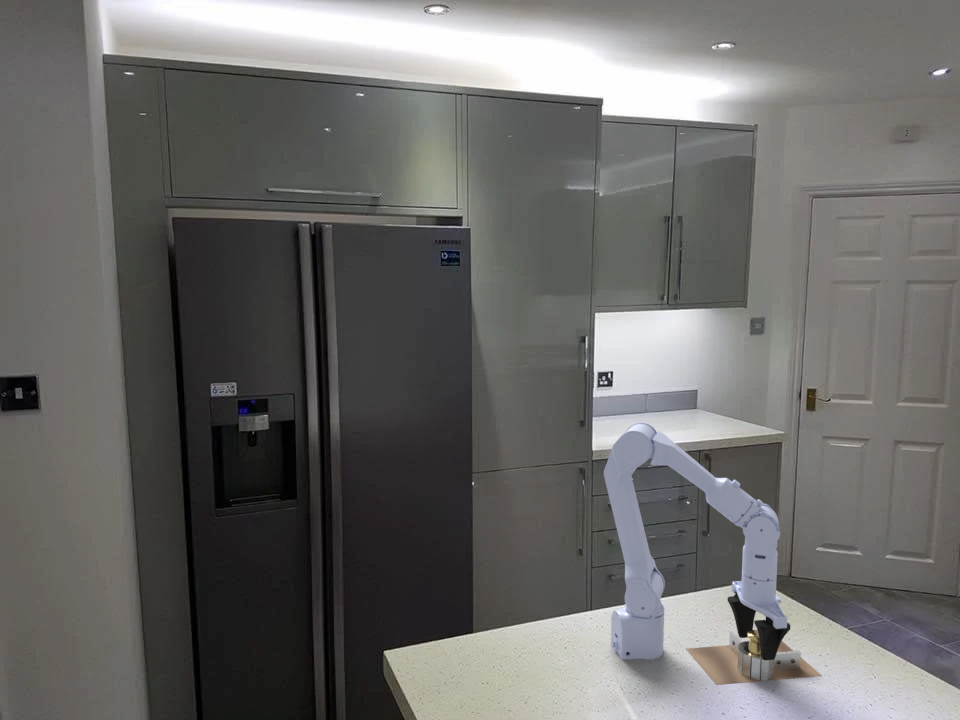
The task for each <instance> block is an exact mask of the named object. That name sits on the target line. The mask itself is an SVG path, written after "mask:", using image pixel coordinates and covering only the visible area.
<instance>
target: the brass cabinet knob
mask: <svg viewBox="0 0 960 720" xmlns="http://www.w3.org/2000/svg"><path fill="white" fill-rule="evenodd" d="M747 637H748V641H749V651H748V653H750V654H752V655H757V656H761V651H760V638H759V634H758V630H757V629H753V630H749V631H748V632H747Z"/></svg>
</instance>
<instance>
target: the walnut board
mask: <svg viewBox="0 0 960 720" xmlns="http://www.w3.org/2000/svg"><path fill="white" fill-rule="evenodd" d="M685 650H686V651H687V652H688V654H689V655H690V657H692V658H693V659H694V661H695V662H696V663H697V665H699V666H700V667H701V669H702V670H703V671H704V673H706V675H708V677H709V678H710V680H712V682H713V683H714V684H715V685H716V686H719V685H729V684H731V685H732V684H742V683H752V682H753V683H755V682H762V681H761V680H760V681H759V680H754V679H751V678H748V677H746V676H743V674H741V673H740V672H739V671H738V670H737V663H738V655H737V654H736V653H735V652H734V651H733V650H732V649H731V648H730V647H729V644H728V645H716V646H701V647H690V648H685ZM789 651H794V650H793V649H792V648H791V647H790V646H789V645H787V643H785V642H784V641H783V640H782V641H781V643H780V645H779V648H778V651H777V652H789ZM821 676H822V674H821V673H820V672H818V670H816V669H815V668H814V667H813V666H811V664H810V663H808V662H807V661H806V660H805V659H803V657H801V662H800V668H796V669H785V670H774V677H773V678H771V679H770V680H769V681H775V680H778V681H779V680H786V679H787V680H789V679H799V678H801V679H802V678H811V677H821ZM766 681H767V682H768V680H764V681H763V682H766Z"/></svg>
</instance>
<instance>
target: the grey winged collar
mask: <svg viewBox="0 0 960 720" xmlns="http://www.w3.org/2000/svg"><path fill="white" fill-rule="evenodd" d="M728 641H729V642H728V645H729V647H730V648H731V649H732V650H733V651H734V652H735V653H736V654H737V655H738V663H737V670H738V671H739V672H740V673H741V674H743V676H746V677H748V678H751V679H754V680H759V681H758V682H765V681H764V680H767V681H771V680H770V679H771V678H773V677H774V670H785V669H796V668H800V662H801V658H802V657H801V656H802V652H801V651H800V650H793V651H789V652H777V654H776V657H775V659H774V660H763V659H762V657H761V656H757V655H752V654H750V653H748V651H749V640H746V641H745V640H742V638H740V637H739V635H737V634H736V633H735V632H734V631H733V630H731V631H729V640H728ZM760 680H761V681H760Z"/></svg>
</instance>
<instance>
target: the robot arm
mask: <svg viewBox="0 0 960 720" xmlns="http://www.w3.org/2000/svg"><path fill="white" fill-rule="evenodd" d="M611 447H612V448H611V450H610V454H609V456H608V459H607V463H606V464H605V467H604V469H603V477H604V481H605V486H606V489H607V490H606V491H607V494H608V498H609V503H610V506H611V510H612V515H613V519H614V522H615V527H616V530H617V531H616V532H617V536H618V539H619V543H620V544H619V545H620V547H621V552H622V556H623V561H624V582H625V589H626V590H625V592H624V593H625V594H624V603H625V606H622V607H621V608H619V609H615V610H613V611H612V613H611V629H610V633H611V634H610V636H611V637H610V638H611V639H610V644H611V647H612V648H613V649H614V650H615V652H616V654H617V655H618V656H619V658H620V660H623V661H626V660H637V659H638V660H656V659H659V658H660V657H661V656H662V655H664V641H665V639H664V637H665V635H664V634H665V632H664V631H665V607H664V605H663V603H662V600H661V599H662V595H663V594H664V590H665V588H666V581H665V578H664V576H663V574H662V573H661V572H660V571H659V569H658V567H657V565H656V560H655V559H654V557H653V556H652V555H651V551H650V548H649V543H648V539H647V536H646V532H645V527H644V523H643V519H642V515H641V510H640V507H639V502H638V498H637V493H636V490H635V489H636V488H635V485H634V481H633V478H632V476H633V474H634V473H635V471H636V470H637V468H638V467H640V466H642V465H643V464H645V463H646V462H647V461H648V460H649V459H651V462H650V466H666V467H667V466H668V467H669V468H670V469H672V470H674V471H675V472H677V474H678V475H681V477H683V478H685V479H686V480H687V481H689V482H690V483H691V484H693V485H694V486H696V487H697V488H698V489H700V490H701V491H703V492H704V494H705V500H706V503H707V504H708V505H710V506H711V507H712V508H713V509H715V510H716V511H717V512H718V513H720V514H721V515H723V517H725V518H726V519H727V520H728V521H730V522H731V523H732V524H733V525H735V526H737V527H739V528H741V529H742V534H743V535H744V545H743V546H742V560H741V561H742V563H741V580H740V581H739V580H737V581H731V592H732V593H733V594H734V595H731V596H727V603H728V604H729V606H730V608H731V611H732V613H733V616H734V620H735V625H736V630H737V634H738V635H737V636H738V637H739V638H740V639H745V638H748V637H747V632H748V631H749V630H754V629H753V628H754V625H755V627H756V630H758V634H759V638H760V651H761V657H762V659H763V660H774V659H775V657H776V654H777V651H778V648H779V645H780V643H781V641H783V639H784V638H785V636H786V635H787V634H788V633H789V631H790V630H791V624H790V623H789V622H788V616H787V615H785V613H784V612H783V610H782V608H781V607H780V604H781V603H782V598H781V597H779V596H778V595H777V576H778V555H779V551H778V550H777V549H778V541H779V540H780V536H781V531H780V526H779V525H780V524H779V523H780V522H779V517H778V515H777V513H776V512H775V510H774V509H773V508H771V505H769V504H767V503H763V501H762V500H761V499H755V498H754V497H752V496H751V495H750V494H749V493H747V492H746V491H745V490H743V489H742V487H741V483H740V482H739V481H737V480H736V479H733V480H731V479H730V478H728V477H715V476H714V475H713V474H712V473H711V472H710V471H709V470H707V469H706V468H705V467H704V466H703V465H702V464H700V463H699V462H698V461H697V460H695V459H694V458H693V457H692V456H691V455H689V454H688V453H687V452H686V451H685V450H683V448H682V447H680V446H678V445H677V443H675V442H674V441H673V440H671V438H669V437H668V436H667V435H666V434H664V433H663V432H661V431H657V430H656V429H655V427H654V426H652V425H651V424H649V423H647V422H636V423H635V422H634V423H633V424H632V425H630V426H629V427H628V428H627V429H626V430H625V432H624V433H623V434H622V435H620V436H619V437H618V439H617V440H616V441H615V443H613V444H612V446H611ZM756 612H757V613H760V614H761V615H763V616H764V617H765V619H758V620H757V619H755V616H756V614H757V613H756ZM748 639H749V638H748ZM627 653H628V654H627Z"/></svg>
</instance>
